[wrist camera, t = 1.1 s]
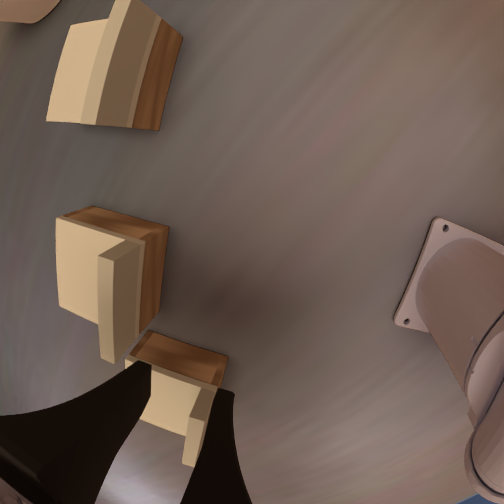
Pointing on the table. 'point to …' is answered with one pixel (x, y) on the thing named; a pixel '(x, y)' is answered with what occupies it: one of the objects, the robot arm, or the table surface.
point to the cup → (25, 10)
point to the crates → (156, 230)
